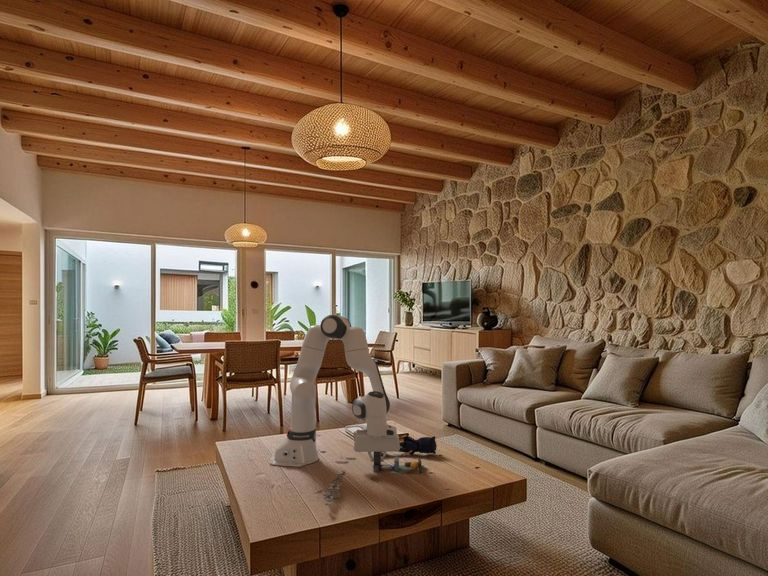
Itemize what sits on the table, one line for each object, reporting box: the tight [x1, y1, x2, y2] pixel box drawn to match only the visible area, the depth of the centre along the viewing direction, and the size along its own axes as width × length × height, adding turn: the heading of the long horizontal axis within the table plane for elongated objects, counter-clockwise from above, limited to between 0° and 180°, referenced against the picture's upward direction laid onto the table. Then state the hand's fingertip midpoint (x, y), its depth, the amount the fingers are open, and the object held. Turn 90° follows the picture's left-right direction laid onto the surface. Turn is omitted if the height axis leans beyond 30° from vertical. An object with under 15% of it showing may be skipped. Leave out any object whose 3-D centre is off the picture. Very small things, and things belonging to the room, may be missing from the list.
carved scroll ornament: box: [324, 470, 346, 506], centre depth 173 cm, size 5×30×4 cm, turn 174°
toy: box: [381, 434, 437, 457], centre depth 218 cm, size 10×9×30 cm
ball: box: [411, 460, 419, 469], centre depth 199 cm, size 4×4×4 cm
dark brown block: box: [373, 465, 379, 473], centre depth 199 cm, size 2×6×3 cm, turn 178°
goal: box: [404, 453, 422, 473], centre depth 199 cm, size 7×9×5 cm
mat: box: [391, 464, 426, 475], centre depth 199 cm, size 14×10×1 cm
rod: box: [372, 452, 400, 472], centre depth 199 cm, size 12×5×8 cm, turn 88°
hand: (377, 461), depth 199 cm, fingers closed on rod, 3 cm apart
